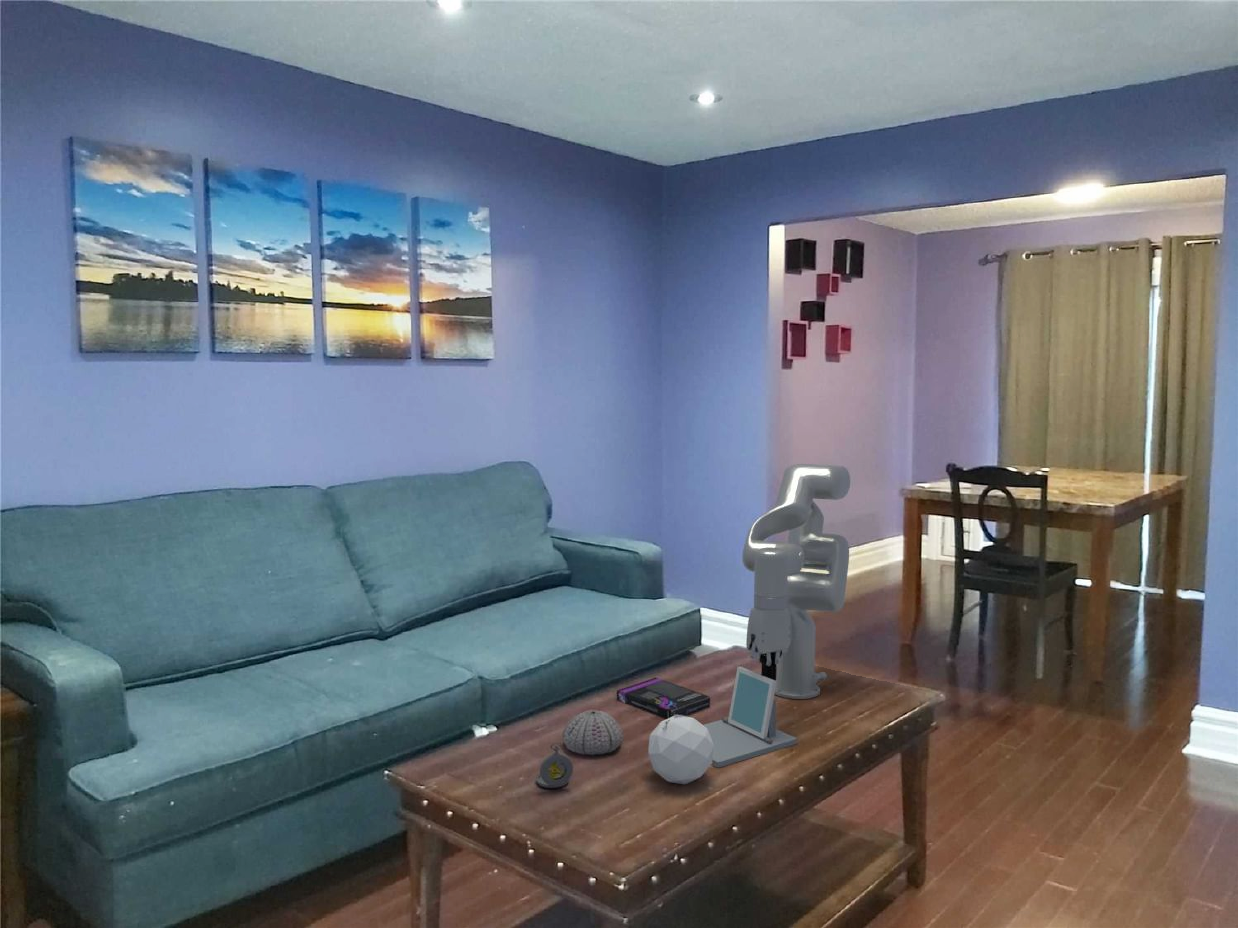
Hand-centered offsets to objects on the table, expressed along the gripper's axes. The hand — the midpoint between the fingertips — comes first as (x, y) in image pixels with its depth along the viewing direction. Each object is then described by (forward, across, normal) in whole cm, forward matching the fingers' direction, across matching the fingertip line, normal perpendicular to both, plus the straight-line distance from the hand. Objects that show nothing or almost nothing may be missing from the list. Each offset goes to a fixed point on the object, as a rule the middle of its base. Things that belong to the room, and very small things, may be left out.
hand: (768, 680), depth 219 cm
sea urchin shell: (+13, +38, -15) cm, 43 cm away
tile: (+4, +5, 0) cm, 6 cm away
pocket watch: (+13, +55, -3) cm, 57 cm away
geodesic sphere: (+12, +32, +9) cm, 36 cm away
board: (+12, +11, 0) cm, 16 cm away
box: (+13, +9, -28) cm, 32 cm away
